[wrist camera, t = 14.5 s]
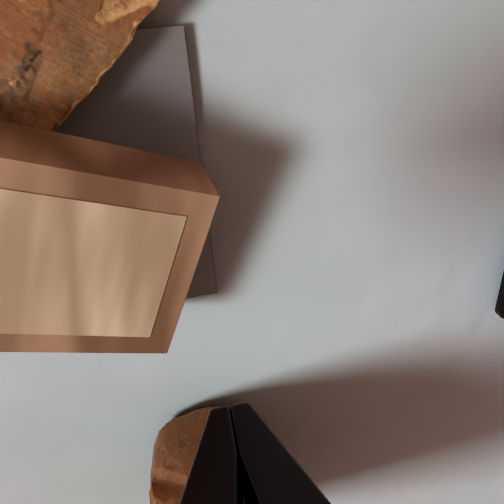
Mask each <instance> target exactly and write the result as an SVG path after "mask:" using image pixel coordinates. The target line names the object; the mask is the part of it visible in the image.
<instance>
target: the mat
mask: <svg viewBox="0 0 504 504" xmlns="http://www.w3.org/2000/svg"><path fill="white" fill-rule="evenodd" d="M54 132H58V133H63V134H68V135H72V136H77V137H82V138H87V139H92V140H96V141H101V142H106V143H111V144H115V145H120V146H125V147H130V148H135V149H139V150H144V151H149V152H154V153H159V154H163V155H168V156H173V157H178V158H182V159H187V160H192V161H197V162H201V160H200V152H199V144H198V136H197V128H196V120H195V112H194V104H193V96H192V88H191V80H190V73H189V65H188V57H187V49H186V41H185V33H184V25H181V26H169V27H156V28H144V29H136V30H135V33H134V37H133V40H132V41H131V43H130V44H129V45H128V47H127V48H126V49H125V51H124V52H123V54H122V55H121V56H120V57H119V58H118V59H117V60H116V61H115V62H114V63H113V66H112V67H111V68H110V69H109V70H108V71H106V72H105V73H104V75H103V76H102V77H101V78H100V80H99V82H98V84H97V85H96V86H95V87H94V88H93V89H92V91H91V92H90V93H89V95H88V96H87V97H86V98H84V99H83V100H82V101H81V102H80V103H78V104H77V105H76V106H75V108H74V109H73V110H72V112H71V113H70V114H69V116H68V117H67V118H66V119H65V120H64V121H63V122H62V124H61V125H60V126H59V127H58V128H57V129H56V130H55V131H54ZM214 293H217V286H216V278H215V271H214V263H213V255H212V247H211V239H210V231H208V234H207V237H206V240H205V243H204V246H203V249H202V252H201V254H200V257H199V260H198V263H197V266H196V269H195V272H194V275H193V278H192V281H191V284H190V287H189V290H188V293H187V296H186V298H188V297H194V296H201V295H207V294H214Z"/></svg>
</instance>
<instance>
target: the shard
mask: <svg viewBox="0 0 504 504" xmlns="http://www.w3.org/2000/svg"><path fill="white" fill-rule="evenodd" d="M158 2H159V0H0V120H1V121H5V122H10V123H15V124H20V125H25V126H29V127H34V128H39V129H44V130H49V131H53V132H54V131H55V130H56V129H57V128H58V127H59V126H60V125H61V124H62V122H63V121H64V120H65V119H66V118H67V117H68V116H69V114H70V113H71V112H72V110H73V109H74V108H75V106H76V105H77V104H78V103H80V102H81V101H82V100H83V99H84V98H86V97H87V96H88V95H89V93H90V92H91V91H92V89H93V88H94V87H95V86H96V85H97V84H98V82H99V80H100V78H101V77H102V76H103V75H104V73H105V72H106V71H108V70H109V69H110V68H111V67H112V66H113V63H114V62H115V61H116V60H117V59H118V58H119V57H120V56H121V55H122V54H123V52H124V51H125V49H126V48H127V47H128V45H129V44H130V43H131V41H132V40H133V37H134V33H135V30H136V28H137V26H138V25H139V24H140V23H141V22H142V21H143V20H144V18H145V17H146V16H147V15H148V14H149V13H150V12H151V11H153V10H154V9H155V8H156V7H157V4H158Z"/></svg>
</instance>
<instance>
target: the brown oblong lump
mask: <svg viewBox="0 0 504 504" xmlns="http://www.w3.org/2000/svg"><path fill="white" fill-rule="evenodd" d="M216 407H218V406H213V407H206V408H201V409H197V410H194V411H191V412H189V413H187V414H185V415H182V416H179V417H177V418H174V419H173V420H171V421H170V422H168V423H167V424H166V425H165V426H164V427H163V428H162V429H161V430H160V431H159V433H158V436H157V439H156V442H155V444H154V451H153V460H152V469H151V488H150V492H149V495H150V504H179V503H180V500H181V497H182V494H183V491H184V488H185V485H186V482H187V479H188V476H189V473H190V470H191V467H192V463H193V460H194V457H195V454H196V451H197V448H198V445H199V442H200V439H201V436H202V433H203V430H204V427H205V424H206V420H207V417H208V414H209V412H210V410H211V409H212V408H216ZM243 498H244V497H243ZM244 504H245V503H244Z"/></svg>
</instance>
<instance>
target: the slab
mask: <svg viewBox="0 0 504 504" xmlns="http://www.w3.org/2000/svg"><path fill="white" fill-rule="evenodd" d="M219 198H220V195H219V193H218V192H217V190H216V188H215V186H214V184H213V182H212V180H211V179H210V177H209V175H208V173H207V171H206V169H205V167H204V166H203V164H202V162H197V161H192V160H187V159H182V158H178V157H173V156H168V155H163V154H159V153H154V152H149V151H144V150H139V149H135V148H130V147H125V146H120V145H115V144H111V143H106V142H101V141H96V140H92V139H87V138H82V137H77V136H72V135H68V134H63V133H58V132H53V131H49V130H44V129H39V128H34V127H29V126H25V125H20V124H15V123H10V122H5V121H1V120H0V352H76V353H167V352H168V349H169V346H170V343H171V340H172V337H173V334H174V331H175V328H176V325H177V322H178V319H179V316H180V313H181V310H182V308H183V305H184V302H185V299H186V296H187V293H188V290H189V287H190V284H191V281H192V278H193V275H194V272H195V269H196V266H197V263H198V260H199V257H200V254H201V252H202V249H203V246H204V243H205V240H206V237H207V234H208V231H209V228H210V225H211V222H212V219H213V216H214V213H215V210H216V207H217V204H218V201H219Z"/></svg>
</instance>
